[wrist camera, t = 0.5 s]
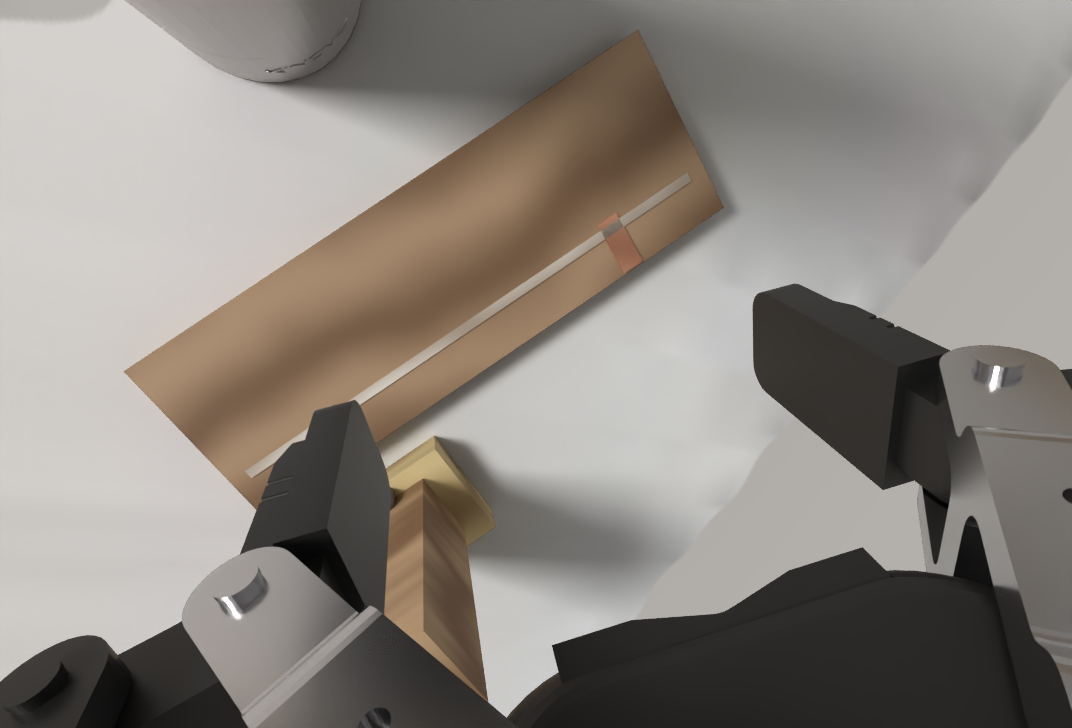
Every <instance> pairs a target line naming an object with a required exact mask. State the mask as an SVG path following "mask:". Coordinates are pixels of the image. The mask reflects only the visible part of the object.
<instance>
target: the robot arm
mask: <svg viewBox="0 0 1072 728" xmlns="http://www.w3.org/2000/svg"><path fill="white" fill-rule="evenodd" d="M125 1H126V2H128V3H129V4H130V5H132V6H133V7H134V8H135V9H137V10H138V11H139V12H141V13H142V14H143V15H145V16H146V17H147V18H149V19H150V20H151V21H153V22H154V23H155V24H156V25H158V26H159V27H160V28H162V29H163V30H164V31H166V32H167V33H168V34H170V35H171V36H172V37H174V38H175V39H176V40H178V41H179V42H180V43H182V44H183V45H184V46H186V47H187V48H188V49H190V50H191V51H192V52H194V53H195V54H196V55H198V56H199V57H201V58H202V59H204V60H205V61H207V62H208V63H210V64H211V65H213V66H214V67H216V68H218V69H220V70H223V71H225V72H227V73H230V74H232V75H234V76H237V77H240V78H245V79H249V80H254V81H259V82H285V81H289V80H294V79H298V78H303V77H305V76H307V75H309V74H311V73H313V72H315V71H317V70H319V69H321V68H323V67H324V66H325V65H326V64H327V63H328V62H330V61H331V60H332V59H333V58H334V57H336V56H337V55H338V53H339V52H340V51H341V49H342V48H343V47H344V45H345V44H346V42H347V41H348V40H349V38H350V36H351V34H352V31H353V29H354V26H355V24H356V22H357V19H358V15H359V9H360V4H361V0H125ZM753 361H754V370H755V374H756V377H757V379H758V381H759V383H760V385H761V387H762V388H763V389H764V391H765V392H766V393H768V394H769V395H770V396H771V397H772V398H774V399H775V400H776V401H777V402H778V403H780V404H781V405H782V406H783V407H784V408H786V409H787V410H788V411H789V412H790V413H792V414H793V415H794V416H795V417H796V418H798V419H799V420H800V421H801V422H802V423H803V424H805V425H806V426H807V427H808V428H810V429H811V430H812V431H813V432H814V433H815V434H817V435H818V436H819V437H821V439H823V440H824V441H825V442H826V443H828V444H829V445H830V446H831V447H832V448H833V449H835V450H836V451H837V452H838V453H839V454H841V455H842V456H843V457H844V458H846V459H847V460H848V461H849V462H850V463H851V464H853V465H854V466H855V467H856V468H857V469H859V470H860V471H861V472H862V473H863V474H865V475H866V476H867V477H868V478H869V479H870V480H872V481H873V482H874V483H875V484H876V485H878V486H879V487H880V488H881V489H882V490H884V489H888V488H891V487H894V486H897V485H901V484H904V483H907V482H911V481H914V480H915V481H916V482H917V483H918V484H920V486H919V492H918V498H917V505H918V512H919V520H920V528H921V535H922V543H923V550H924V558H925V566H926V572H919V571H899V570H894V571H886V570H885V569H883V567H882V566H881V565H879V563H877V562H876V560H874V559H873V558H872V556H870V555H869V553H867V551H865V550H864V548H859V549H856V550H853V551H849V552H846V553H843V554H840V555H837V556H834V557H830V558H827V559H824V560H821V561H818V562H815V563H812V564H808V565H805V566H802V567H799V568H795V569H792V570H789V571H788V572H786V573H785V574H783V575H781V576H780V577H779V578H777V579H775V580H774V581H772V582H771V583H769V584H767V585H766V586H764V587H763V588H761V589H760V590H758V591H757V592H755V593H754V594H752V595H750V596H749V597H747V598H746V599H744V600H743V601H742V602H740V603H738V604H737V605H735V606H733V607H732V608H730V609H729V610H727V611H725V612H722V613H718V614H710V615H697V616H683V617H669V618H656V619H642V620H631V621H628V622H624V623H621V624H618V625H615V626H612V627H609V628H605V629H602V630H599V631H596V632H593V633H590V634H586V635H583V636H580V637H577V638H574V639H571V640H567V641H564V642H561V643H558V644H555V645H552V647H553V651H554V655H555V659H556V663H557V667H558V671H559V673H557V674H556V675H554V676H552V677H551V678H549V679H548V680H546V681H545V682H543V683H542V684H541V685H540V686H538V687H537V688H536V689H535V690H533V691H532V692H531V693H530V694H528V695H527V696H526V697H525V698H524V699H523V700H522V701H521V702H520V704H519V705H518V706H517V707H516V708H515V709H514V710H513V711H512V712H511V713H510V714H509V716H508V717H507V718H506V717H505V716H504V715H502V714H501V713H500V712H499V711H498V710H496V709H495V708H494V707H493V706H492V705H490V704H489V703H488V702H487V701H486V700H485V699H483V698H482V697H481V696H480V695H479V694H477V693H476V692H475V691H474V690H473V689H472V688H470V687H469V686H468V685H467V684H466V683H464V682H463V681H462V680H461V679H460V678H458V677H457V676H456V675H455V674H454V673H453V672H451V671H450V670H449V669H448V668H447V667H445V666H444V665H443V664H442V663H441V662H440V661H438V660H437V659H436V658H435V657H434V656H432V655H431V654H430V653H429V652H428V651H426V650H425V649H424V648H423V647H422V646H421V645H419V644H418V643H417V642H416V641H415V640H413V639H412V638H411V637H410V636H409V635H408V634H406V633H405V632H404V631H403V630H402V629H400V628H399V627H398V626H397V625H396V624H394V623H393V622H392V621H391V620H390V619H389V618H387V617H386V616H385V615H384V609H385V591H386V573H387V555H388V537H389V519H390V501H391V493H390V485H389V479H388V475H387V472H386V468H385V466H384V463H383V460H382V458H381V455H380V453H379V450H378V448H377V445H376V443H375V440H374V438H373V435H372V433H371V430H370V428H369V425H368V423H367V420H366V418H365V416H364V413H363V411H362V409H361V407H360V405H359V403H358V402H357V401H356V400H352V401H349V402H345V403H341V404H337V405H333V406H330V407H326V408H322V409H318V410H315V411H314V413H313V416H312V419H311V422H310V425H309V429H308V432H307V435H306V438H305V440H302V441H299V442H295V443H292V444H291V445H290V446H289V447H288V449H287V450H286V451H285V452H284V453H283V454H282V455H281V456H280V457H279V459H278V460H277V461H276V462H275V463H274V466H273V468H272V471H271V474H270V476H269V479H268V482H267V483H268V486H266V487H265V490H264V492H263V495H262V498H261V500H262V502H261V503H259V505H258V508H257V511H256V513H255V516H254V519H253V521H252V524H251V527H250V529H249V532H248V535H247V537H246V540H245V543H244V545H243V548H242V550H241V553H240V555H238V556H236V557H234V558H232V559H230V560H229V561H227V562H225V563H224V564H222V565H221V566H219V567H218V568H217V569H215V570H214V571H213V572H211V573H210V574H209V575H208V576H207V577H206V578H205V579H204V580H203V581H202V582H201V583H200V584H199V585H198V586H197V587H196V588H195V590H194V591H193V592H192V594H191V595H190V597H189V598H188V600H187V602H186V604H185V607H184V609H183V614H182V621H181V622H180V623H178V624H176V625H174V626H173V627H171V628H169V629H167V630H165V631H163V632H161V633H159V634H157V635H155V636H154V637H152V638H150V639H148V640H146V641H144V642H142V643H140V644H138V645H136V646H134V647H133V648H131V649H129V650H127V651H125V652H123V653H121V654H119V655H117V654H116V653H115V652H114V650H113V649H112V648H111V647H110V646H109V645H108V643H107V642H106V641H105V640H104V639H102V638H101V637H97V636H90V635H87V636H80V637H75V638H72V639H68V640H66V641H63V642H60V643H58V644H56V645H54V646H52V647H50V648H48V649H46V650H44V651H42V652H40V653H39V654H37V655H35V656H34V657H32V658H31V659H29V660H28V661H26V662H25V663H23V664H22V665H20V666H19V667H18V668H16V669H15V670H14V671H13V672H11V673H10V674H9V675H8V676H7V677H5V678H4V679H3V680H2V681H1V682H0V728H1072V369H1066V370H1060V369H1059V368H1058V367H1057V366H1056V365H1055V364H1054V363H1053V362H1051V361H1049V360H1048V359H1046V358H1044V357H1042V356H1039V355H1037V354H1034V353H1031V352H1028V351H1024V350H1020V349H1015V348H1010V347H1002V346H990V345H989V346H988V345H986V346H985V345H984V346H983V345H979V346H968V347H962V348H958V349H954V350H952V351H950V350H948V349H946V348H943V347H941V346H939V345H937V344H935V343H933V342H931V341H929V340H926V339H924V338H922V337H920V336H918V335H916V334H914V333H911V332H910V331H908V330H905V329H903V328H901V327H899V326H898V327H894V324H893V323H891V322H888V321H886V320H884V319H882V318H876V315H874V314H872V313H869V312H867V311H865V310H863V309H861V308H859V307H857V306H854V305H850V304H845V303H840V302H836V301H832V300H830V299H828V298H826V297H824V296H822V295H820V294H818V293H816V292H814V291H812V290H810V289H808V288H806V287H804V286H801V285H799V284H791V285H787V286H784V287H780V288H776V289H772V290H769V291H765V292H761V293H759V294H757V295H756V297H755V299H754V302H753Z"/></svg>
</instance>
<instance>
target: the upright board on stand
mask: <svg viewBox="0 0 1072 728" xmlns="http://www.w3.org/2000/svg"><path fill="white" fill-rule="evenodd" d="M386 472H387V475H388V479H389V485H390V493H391V501H390V519H389V537H388V555H387V573H386V591H385V609H384V615H385V616H386V617H387V618H389V619H390V620H391V621H392V622H393V623H394V624H396V625H397V626H398V627H399V628H400V629H402V630H403V631H404V632H405V633H406V634H408V635H409V636H410V637H411V638H412V639H413V640H415V641H416V642H417V643H418V644H419V645H421V646H422V647H423V648H424V649H425V650H426V651H428V652H429V653H430V654H431V655H432V656H434V657H435V658H436V659H437V660H438V661H440V662H441V663H442V664H443V665H444V666H445V667H447V668H448V669H449V670H450V671H451V672H453V673H454V674H455V675H456V676H457V677H458V678H460V679H461V680H462V681H463V682H464V683H466V684H467V685H468V686H469V687H470V688H472V689H473V690H474V691H475V692H476V693H477V694H479V695H480V696H481V697H482V698H483V699H485V700H486V701H487V702H488V697H487V690H486V683H485V676H484V668H483V661H482V654H481V647H480V639H479V632H478V625H477V618H476V611H475V603H474V596H473V589H472V582H471V575H470V567H469V560H468V553H467V546H469V545H470V544H472V543H473V542H474V541H476V540H477V539H479V538H480V537H482V536H483V535H485V534H486V533H488V532H489V531H490V530H492V529H493V528H495V527H496V526H495V522H494V518H493V513H492V510H491V508H490V507H489V506H488V505H487V503H486V502H485V501H484V499H483V498H482V497H481V496H480V494H479V493H478V492H477V490H476V489H475V488H474V487H473V485H472V484H471V483H470V481H469V480H468V479H467V478H466V476H465V475H464V474H463V472H462V471H461V470H460V468H459V467H458V466H457V465H456V463H455V462H454V461H453V459H452V458H451V457H450V456H449V454H448V453H447V452H446V450H445V449H444V448H443V447H442V445H441V444H440V443H439V441H438V440H437V439H436V438H435V436H433V437H432V438H430V439H429V440H427V441H426V442H424V443H423V444H421V445H420V446H418V447H417V448H416V449H414V450H413V451H411V452H410V453H408V454H407V455H405V456H404V457H402V458H401V459H399V460H398V461H396V462H395V463H393V464H392V465H390V466H389V467H388V468H386Z"/></svg>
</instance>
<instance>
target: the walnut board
mask: <svg viewBox="0 0 1072 728" xmlns="http://www.w3.org/2000/svg"><path fill="white" fill-rule="evenodd" d="M722 208H724V207H723V205H722V203H721V201H720V199H719V197H718V195H717V192H716V190H715V188H714V186H713V184H712V182H711V180H710V178H709V176H708V174H707V172H706V170H705V168H704V166H703V163H702V161H701V159H700V157H699V155H698V153H697V151H696V149H695V147H694V145H693V143H692V141H691V139H690V137H689V134H688V132H687V130H686V128H685V126H684V124H683V122H682V120H681V118H680V116H679V114H678V112H677V110H676V108H675V106H674V103H673V101H672V99H671V97H670V95H669V93H668V91H667V89H666V87H665V85H664V83H663V81H662V79H661V77H660V74H659V72H658V70H657V68H656V66H655V64H654V62H653V60H652V58H651V56H650V54H649V52H648V50H647V48H646V45H645V43H644V41H643V39H642V37H641V35H640V33H639V31H638V30H637V31H636V32H634V33H633V34H631V35H630V36H628V37H627V38H625V39H624V40H622V41H621V42H619V43H618V44H616V45H615V46H613V47H612V48H610V49H609V50H607V51H606V52H604V53H603V54H601V55H600V56H598V57H597V58H595V59H594V60H592V61H591V62H589V63H587V64H586V65H584V66H583V67H581V68H580V69H578V70H577V71H575V72H574V73H572V74H571V75H569V76H568V77H566V78H565V79H563V80H562V81H560V82H559V83H557V84H556V85H554V86H553V87H551V88H550V89H548V90H547V91H545V92H544V93H542V94H541V95H539V96H538V97H536V98H535V99H533V100H532V101H530V102H529V103H527V104H526V105H524V106H523V107H521V108H520V109H518V110H517V111H515V112H514V113H512V114H511V115H509V116H508V117H506V118H505V119H503V120H502V121H500V122H499V123H497V124H496V125H494V126H493V127H491V128H490V129H488V130H487V131H485V132H484V133H482V134H481V135H479V136H478V137H476V138H475V139H473V140H471V141H470V142H468V143H467V144H465V145H464V146H462V147H461V148H459V149H458V150H456V151H455V152H453V153H452V154H450V155H449V156H447V157H446V158H444V159H443V160H441V161H440V162H438V163H437V164H435V165H434V166H432V167H431V168H429V169H428V170H426V171H425V172H423V173H422V174H420V175H419V176H417V177H416V178H414V179H413V180H411V181H410V182H408V183H407V184H405V185H404V186H402V187H401V188H399V189H398V190H396V191H395V192H393V193H392V194H390V195H389V196H387V197H386V198H384V199H383V200H381V201H380V202H378V203H377V204H375V205H374V206H372V207H371V208H369V209H368V210H366V211H365V212H363V213H362V214H360V215H359V216H357V217H355V218H354V219H352V220H351V221H349V222H348V223H346V224H345V225H343V226H342V227H340V228H339V229H337V230H336V231H334V232H333V233H331V234H330V235H328V236H327V237H325V238H324V239H322V240H321V241H319V242H318V243H316V244H315V245H313V246H312V247H310V248H309V249H307V250H306V251H304V252H303V253H301V254H300V255H298V256H297V257H295V258H294V259H292V260H291V261H289V262H288V263H286V264H285V265H283V266H282V267H280V268H279V269H277V270H276V271H274V272H273V273H271V274H270V275H268V276H267V277H265V278H264V279H262V280H261V281H259V282H258V283H256V284H255V285H253V286H252V287H250V288H249V289H247V290H246V291H244V292H243V293H241V294H239V295H238V296H236V297H235V298H233V299H232V300H230V301H229V302H227V303H226V304H224V305H223V306H221V307H220V308H218V309H217V310H215V311H214V312H212V313H211V314H209V315H208V316H206V317H205V318H203V319H202V320H200V321H199V322H197V323H196V324H194V325H193V326H191V327H190V328H188V329H187V330H185V331H184V332H182V333H181V334H179V335H178V336H176V337H175V338H173V339H172V340H170V341H169V342H167V343H166V344H164V345H163V346H161V347H160V348H158V349H157V350H155V351H154V352H152V353H151V354H149V355H148V356H146V357H145V358H143V359H142V360H140V361H139V362H137V363H136V364H134V365H133V366H131V367H130V368H128V369H127V370H125V371H124V372H125V373H126V374H127V375H128V376H129V377H130V378H131V380H132V381H133V382H134V383H135V384H136V385H137V386H138V387H139V388H140V389H141V390H142V391H143V392H144V393H145V394H146V395H147V396H148V397H149V398H150V399H151V400H152V401H153V402H154V403H155V405H156V406H157V407H158V408H159V409H160V410H161V411H162V412H163V413H164V414H165V415H166V416H167V417H168V418H169V419H170V420H171V421H172V422H173V423H174V424H175V425H176V426H177V427H178V429H179V430H180V431H181V432H182V433H183V434H184V435H185V436H186V437H187V438H188V439H189V440H190V441H191V442H192V443H193V444H194V445H195V446H196V447H197V448H198V449H199V450H200V451H201V452H202V454H203V455H204V456H205V457H206V458H207V459H208V460H209V461H210V462H211V463H212V464H213V465H214V466H215V467H216V468H217V469H218V470H219V471H220V472H221V473H222V474H223V475H224V476H225V478H226V479H227V480H228V481H229V482H230V483H231V484H232V485H233V486H234V487H235V488H236V489H237V490H238V491H239V492H240V493H241V494H242V495H243V496H244V497H245V498H246V499H247V500H248V501H249V503H250V504H251V505H252V506H253V507H254V508H255V509H256V510H257V508H258V505H259V503H261V502H262V500H261V498H262V495H263V492H264V490H265V487H266V486H268V483H267V482H268V479H269V476H270V474H271V471H272V468H273V466H274V463H275V462H276V461H277V460H278V459H279V457H280V456H281V455H282V454H283V453H284V452H285V451H286V450H287V449H288V447H289V446H290V445H291V444H292V443H295V442H299V441H302V440H305V438H306V435H307V432H308V429H309V425H310V422H311V419H312V416H313V413H314V411H315V410H318V409H322V408H326V407H330V406H333V405H337V404H341V403H345V402H349V401H352V400H356V401H357V402H358V403H359V405H360V407H361V409H362V411H363V413H364V416H365V418H366V420H367V423H368V425H369V428H370V430H371V433H372V435H373V438H374V440H375V443H377V442H379V441H380V440H382V439H383V438H385V437H386V436H388V435H389V434H391V433H392V432H394V431H395V430H397V429H398V428H400V427H401V426H403V425H404V424H405V423H407V422H408V421H410V420H411V419H413V418H414V417H416V416H417V415H419V414H420V413H422V412H423V411H425V410H426V409H428V408H429V407H431V406H432V405H433V404H435V403H436V402H438V401H439V400H441V399H442V398H444V397H445V396H447V395H448V394H450V393H451V392H453V391H454V390H456V389H457V388H459V387H460V386H461V385H463V384H464V383H466V382H467V381H469V380H470V379H472V378H473V377H475V376H476V375H478V374H479V373H481V372H482V371H484V370H485V369H487V368H488V367H490V366H491V365H492V364H494V363H495V362H497V361H498V360H500V359H501V358H503V357H504V356H506V355H507V354H509V353H510V352H512V351H513V350H515V349H516V348H518V347H519V346H520V345H522V344H523V343H525V342H526V341H528V340H529V339H531V338H532V337H534V336H535V335H537V334H538V333H540V332H541V331H543V330H544V329H546V328H547V327H548V326H550V325H551V324H553V323H554V322H556V321H557V320H559V319H560V318H562V317H563V316H565V315H566V314H568V313H569V312H571V311H572V310H574V309H575V308H576V307H578V306H579V305H581V304H582V303H584V302H585V301H587V300H588V299H590V298H591V297H593V296H594V295H596V294H597V293H599V292H600V291H602V290H603V289H605V288H606V287H607V286H609V285H610V284H612V283H613V282H615V281H616V280H618V279H619V278H621V277H622V276H624V275H625V274H627V273H628V272H630V271H631V270H633V269H634V268H635V267H637V266H638V265H640V264H641V263H643V262H644V261H646V260H647V259H649V258H650V257H652V256H653V255H655V254H656V253H658V252H659V251H661V250H662V249H663V248H665V247H666V246H668V245H669V244H671V243H672V242H674V241H675V240H677V239H678V238H680V237H681V236H683V235H684V234H686V233H687V232H689V231H690V230H691V229H693V228H694V227H696V226H697V225H699V224H700V223H702V222H703V221H705V220H706V219H708V218H709V217H711V216H712V215H714V214H715V213H717V212H718V211H720V210H721V209H722Z"/></svg>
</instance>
